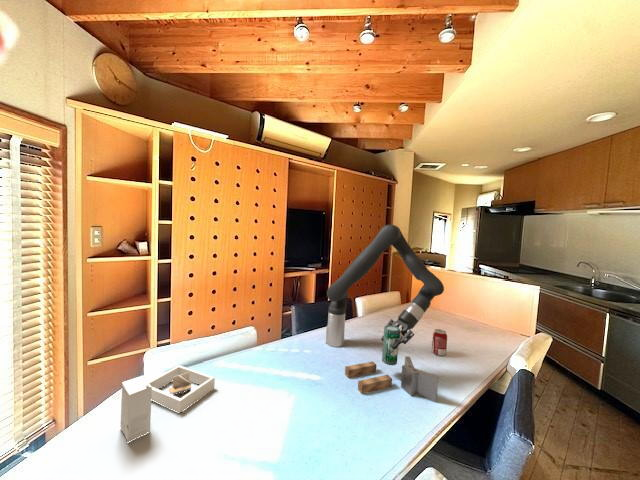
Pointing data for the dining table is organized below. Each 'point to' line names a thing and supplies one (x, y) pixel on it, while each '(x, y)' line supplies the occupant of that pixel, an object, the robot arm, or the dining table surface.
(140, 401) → the skincare box
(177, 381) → the architectural model
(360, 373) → the wooden bar pair
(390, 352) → the can
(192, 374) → the holder tray
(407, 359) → the v cradle
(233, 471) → the dining table surface
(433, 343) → the soda can
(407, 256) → the robot arm
